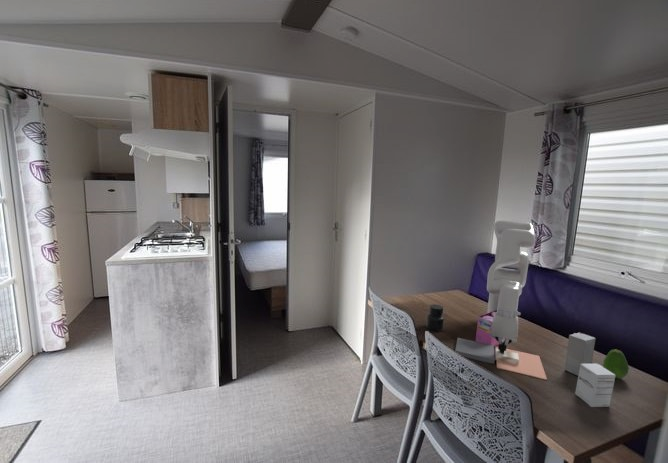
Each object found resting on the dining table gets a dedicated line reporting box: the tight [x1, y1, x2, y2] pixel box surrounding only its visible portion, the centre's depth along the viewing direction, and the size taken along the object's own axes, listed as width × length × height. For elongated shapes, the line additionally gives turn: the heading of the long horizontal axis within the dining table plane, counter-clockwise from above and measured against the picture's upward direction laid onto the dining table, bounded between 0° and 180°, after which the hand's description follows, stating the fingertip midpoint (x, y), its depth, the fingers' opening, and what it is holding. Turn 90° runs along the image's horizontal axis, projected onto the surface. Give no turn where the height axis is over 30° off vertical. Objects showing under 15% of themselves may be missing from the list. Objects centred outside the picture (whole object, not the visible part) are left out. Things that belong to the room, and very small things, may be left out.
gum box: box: [474, 310, 505, 348], centre depth 163 cm, size 24×8×14 cm, turn 125°
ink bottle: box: [425, 303, 445, 332], centre depth 173 cm, size 10×9×12 cm
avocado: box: [602, 348, 629, 379], centre depth 134 cm, size 8×8×12 cm
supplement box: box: [574, 362, 616, 408], centre depth 119 cm, size 7×7×13 cm
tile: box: [494, 348, 519, 365], centre depth 145 cm, size 9×6×2 cm, turn 65°
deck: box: [455, 337, 496, 365], centre depth 151 cm, size 14×16×2 cm
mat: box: [494, 346, 548, 381], centre depth 144 cm, size 20×18×1 cm
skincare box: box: [564, 332, 596, 377], centre depth 137 cm, size 8×7×16 cm
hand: (501, 351), depth 146 cm, fingers closed
